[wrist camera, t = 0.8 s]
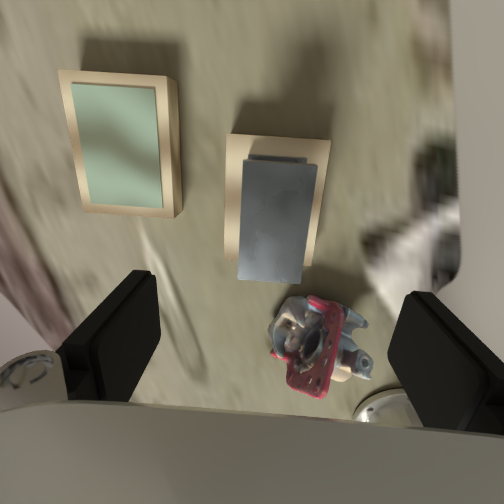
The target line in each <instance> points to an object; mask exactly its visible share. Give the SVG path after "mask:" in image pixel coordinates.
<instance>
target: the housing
mask: <svg viewBox="0 0 504 504" xmlns="http://www.w3.org/2000/svg"><path fill="white" fill-rule="evenodd" d="M317 170H318V165H316V164H309V163H307V158H306V157H292V156H277V155H262V154H248V159H244V160H243V168H242V190H241V212H240V235H239V257H238V279H241V280H254V281H267V282H280V283H293V284H301V277H302V271H303V264H304V257H305V250H306V244H307V237H308V230H309V224H310V217H311V210H312V203H313V197H314V190H315V183H316V177H317Z"/></svg>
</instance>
